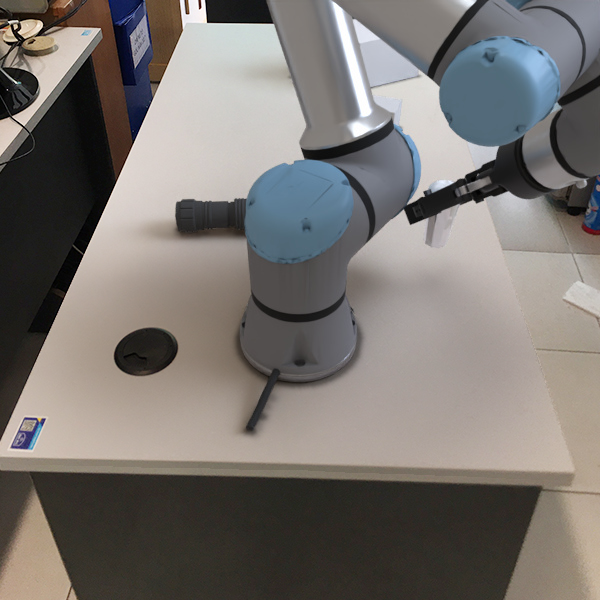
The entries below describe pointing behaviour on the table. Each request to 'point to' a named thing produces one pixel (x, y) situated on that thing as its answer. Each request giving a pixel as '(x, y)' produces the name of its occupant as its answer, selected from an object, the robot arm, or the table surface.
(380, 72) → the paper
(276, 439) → the table surface
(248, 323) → the robot arm
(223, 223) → the flashlight
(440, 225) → the milkshake
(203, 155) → the table surface
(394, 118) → the white cube
